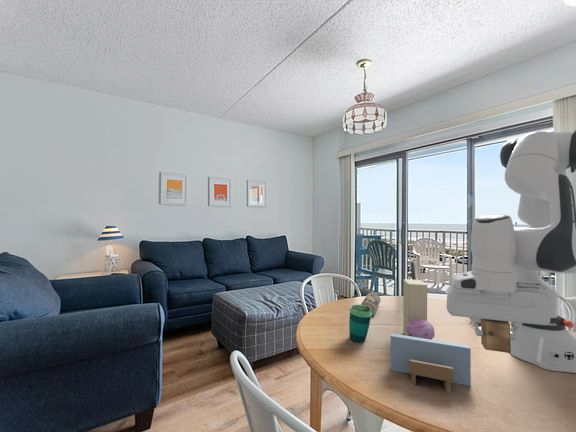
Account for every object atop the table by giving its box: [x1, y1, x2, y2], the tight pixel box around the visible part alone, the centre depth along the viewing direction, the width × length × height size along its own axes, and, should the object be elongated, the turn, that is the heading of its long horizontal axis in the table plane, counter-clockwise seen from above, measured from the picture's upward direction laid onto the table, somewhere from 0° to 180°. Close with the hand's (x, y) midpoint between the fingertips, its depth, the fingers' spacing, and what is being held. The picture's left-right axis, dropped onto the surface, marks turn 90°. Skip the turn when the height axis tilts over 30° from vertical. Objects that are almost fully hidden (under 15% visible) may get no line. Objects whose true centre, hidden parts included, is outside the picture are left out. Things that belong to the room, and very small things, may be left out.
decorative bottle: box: [360, 291, 381, 316], centre depth 129 cm, size 26×8×7 cm, turn 154°
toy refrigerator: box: [402, 278, 428, 336], centre depth 101 cm, size 8×7×21 cm
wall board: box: [390, 333, 472, 393], centre depth 74 cm, size 20×8×10 cm, turn 67°
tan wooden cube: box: [480, 319, 511, 354], centre depth 66 cm, size 5×4×7 cm
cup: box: [348, 304, 373, 344], centre depth 99 cm, size 8×8×12 cm
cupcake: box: [406, 319, 435, 340], centre depth 93 cm, size 9×9×10 cm
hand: (495, 337), depth 66 cm, fingers closed on tan wooden cube, 5 cm apart
